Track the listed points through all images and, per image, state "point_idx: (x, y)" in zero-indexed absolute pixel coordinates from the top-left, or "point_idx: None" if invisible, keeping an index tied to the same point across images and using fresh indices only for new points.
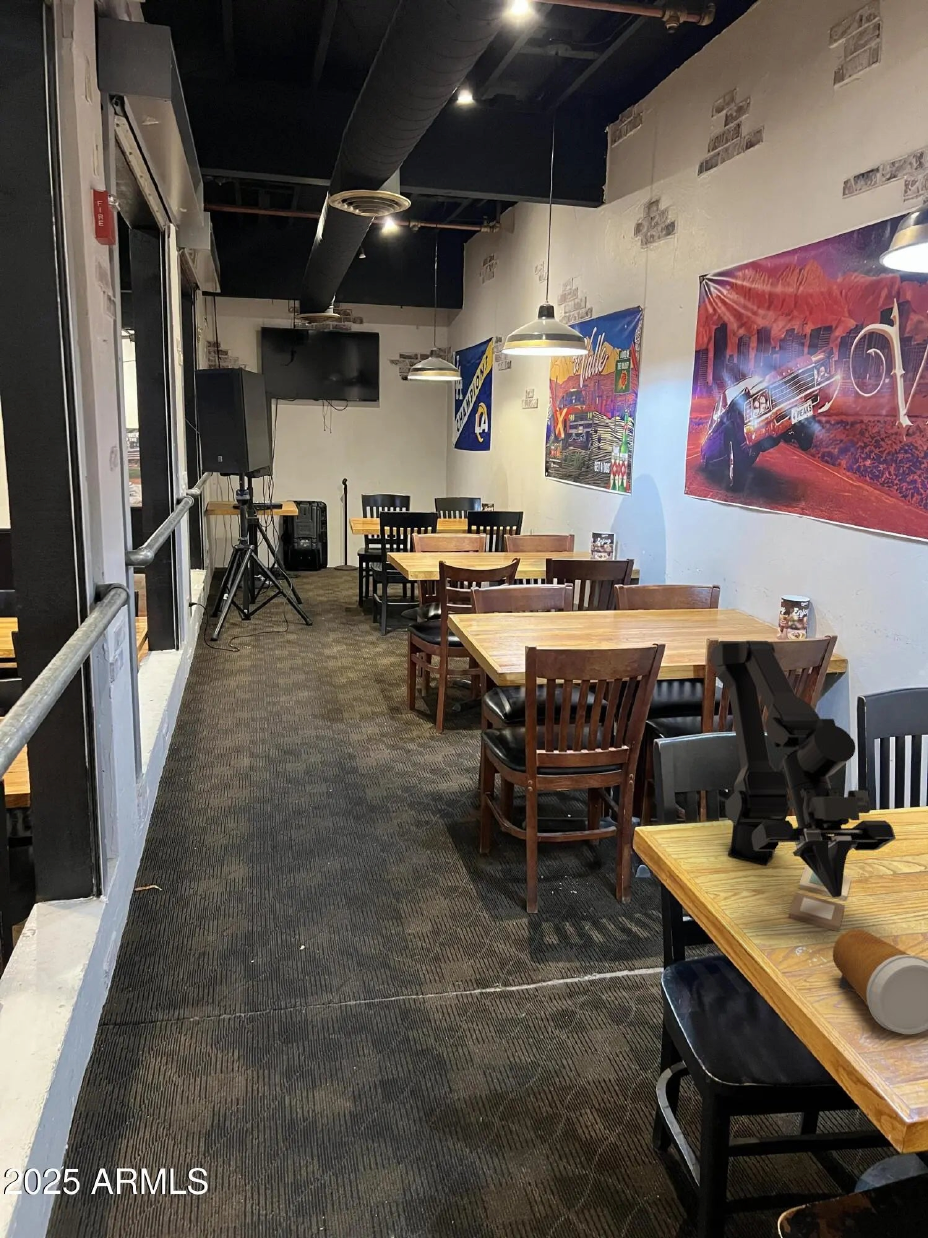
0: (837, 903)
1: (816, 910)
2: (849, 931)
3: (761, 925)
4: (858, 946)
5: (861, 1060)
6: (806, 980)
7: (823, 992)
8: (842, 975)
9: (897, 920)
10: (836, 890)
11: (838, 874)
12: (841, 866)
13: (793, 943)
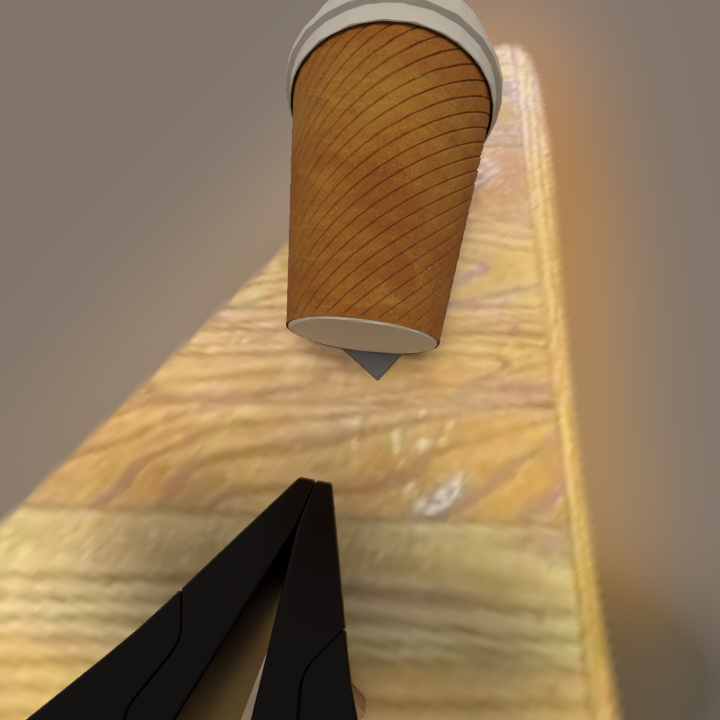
0: None
1: (250, 698)
2: (388, 317)
3: (494, 672)
4: (435, 208)
5: (527, 130)
6: (501, 363)
7: (483, 314)
8: (395, 357)
9: (15, 586)
10: (316, 498)
11: (246, 573)
12: (172, 627)
13: (439, 536)
